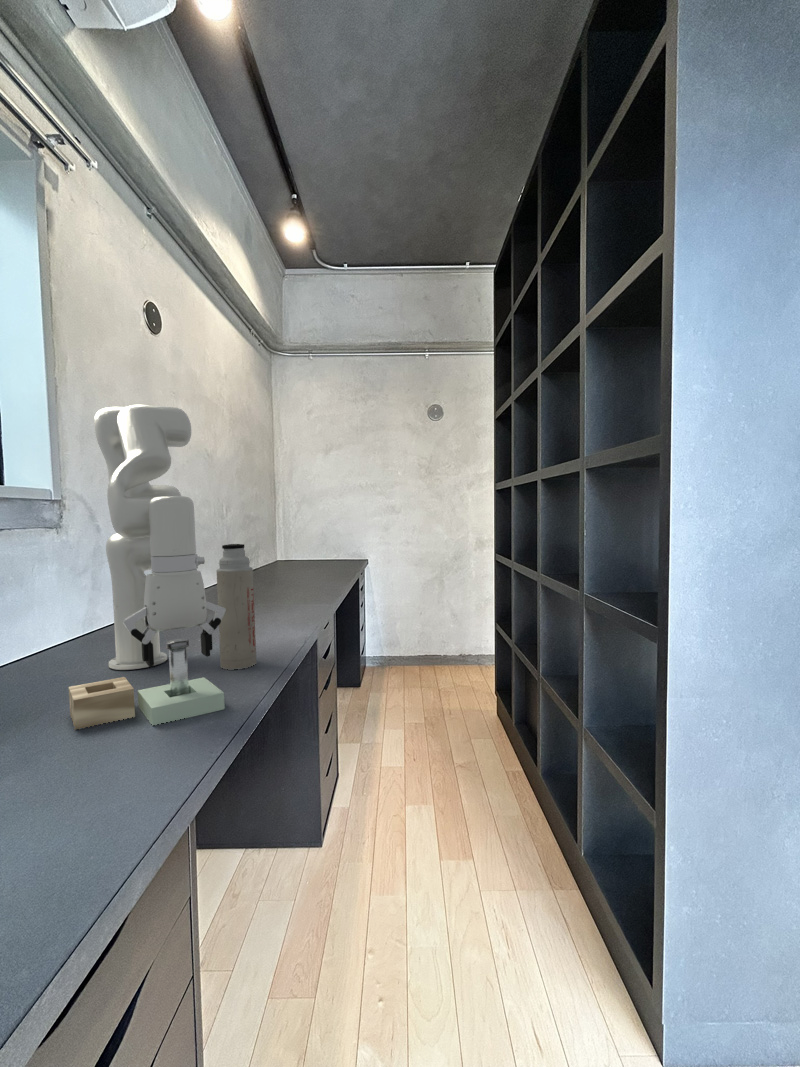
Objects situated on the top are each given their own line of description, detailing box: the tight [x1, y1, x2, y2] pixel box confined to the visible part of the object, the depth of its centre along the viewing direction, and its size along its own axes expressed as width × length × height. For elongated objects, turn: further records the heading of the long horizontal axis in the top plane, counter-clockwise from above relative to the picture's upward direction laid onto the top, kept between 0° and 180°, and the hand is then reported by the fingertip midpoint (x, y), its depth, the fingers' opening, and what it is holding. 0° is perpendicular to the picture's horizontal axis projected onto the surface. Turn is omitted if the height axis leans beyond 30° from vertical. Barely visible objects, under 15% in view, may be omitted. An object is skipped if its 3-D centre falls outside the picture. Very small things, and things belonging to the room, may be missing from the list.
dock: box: [137, 676, 226, 727], centre depth 99 cm, size 12×12×3 cm
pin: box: [165, 638, 190, 697], centre depth 99 cm, size 4×4×12 cm
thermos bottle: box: [216, 543, 257, 671], centre depth 126 cm, size 8×8×28 cm
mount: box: [68, 676, 136, 731], centre depth 96 cm, size 9×9×5 cm
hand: (178, 659), depth 99 cm, fingers open, 9 cm apart
